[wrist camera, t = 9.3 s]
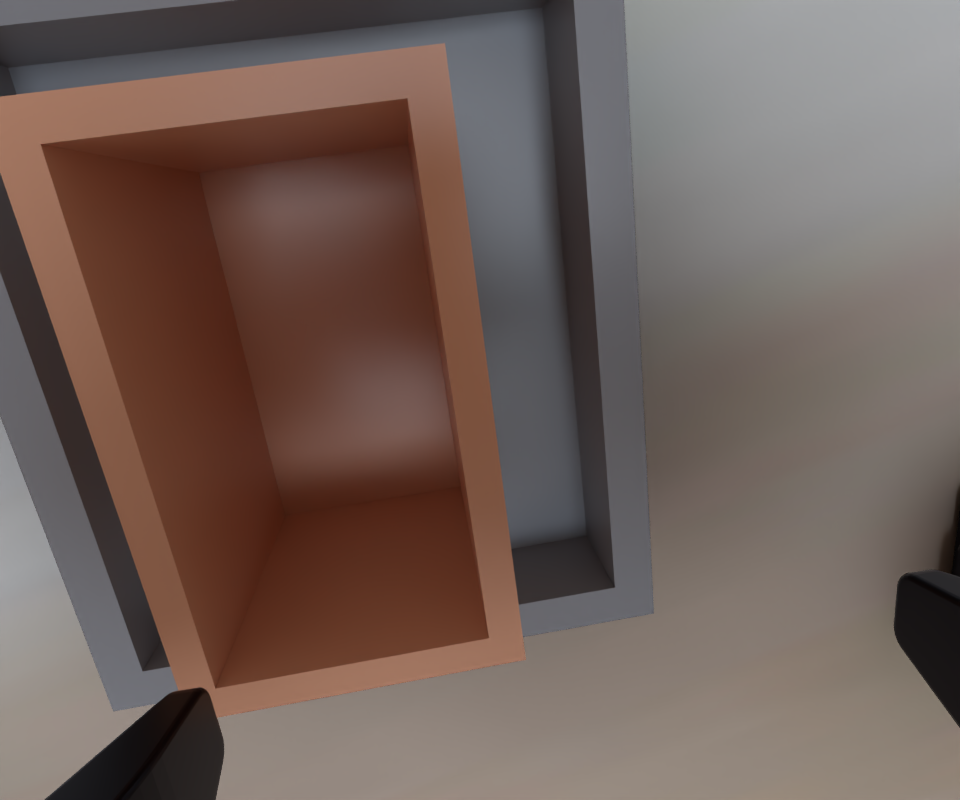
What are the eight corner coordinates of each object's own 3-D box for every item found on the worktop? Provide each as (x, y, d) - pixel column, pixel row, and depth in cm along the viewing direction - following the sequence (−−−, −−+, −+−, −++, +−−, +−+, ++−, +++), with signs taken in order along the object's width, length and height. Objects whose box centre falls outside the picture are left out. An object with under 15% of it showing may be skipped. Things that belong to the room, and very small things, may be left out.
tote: (428, 117, 15) (445, 43, 8) (482, 492, 18) (525, 660, 11) (173, 150, 15) (-25, 100, 8) (272, 528, 18) (189, 722, 11)
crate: (571, -34, 15) (619, -104, 12) (612, 545, 20) (654, 613, 17) (-32, 31, 14) (-169, -24, 11) (165, 623, 19) (113, 711, 16)
